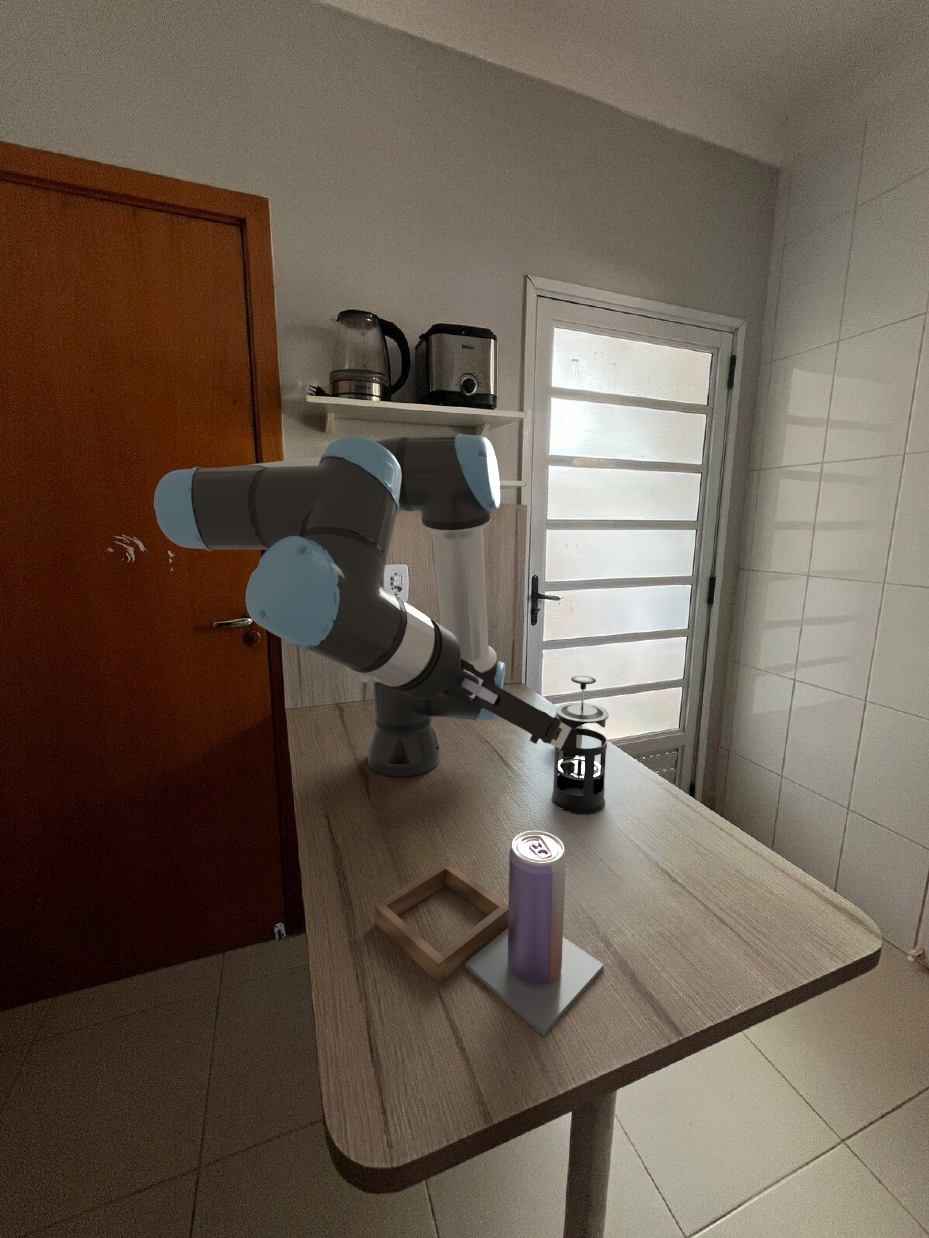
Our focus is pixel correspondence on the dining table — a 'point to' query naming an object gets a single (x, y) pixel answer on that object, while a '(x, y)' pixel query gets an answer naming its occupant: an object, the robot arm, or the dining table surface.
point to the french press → (580, 769)
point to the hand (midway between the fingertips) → (520, 712)
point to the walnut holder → (463, 947)
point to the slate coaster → (530, 1001)
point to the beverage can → (536, 907)
